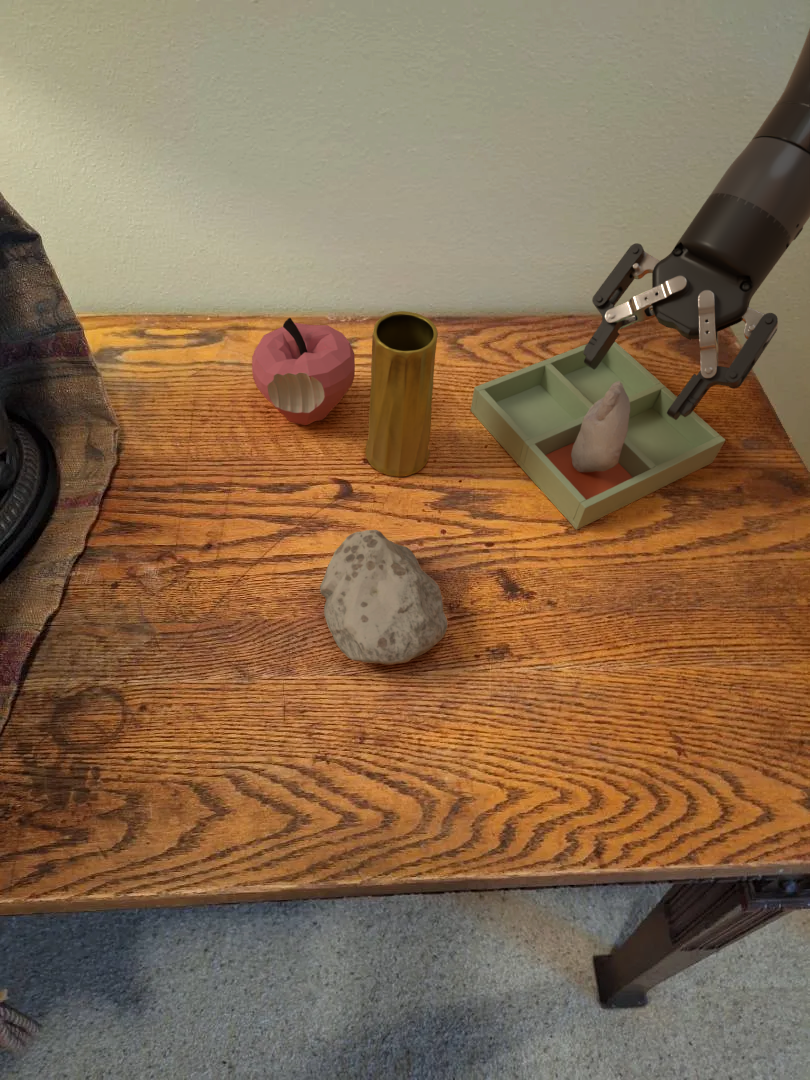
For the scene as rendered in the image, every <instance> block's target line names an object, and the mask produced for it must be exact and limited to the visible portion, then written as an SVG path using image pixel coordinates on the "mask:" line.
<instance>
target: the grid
mask: <svg viewBox="0 0 810 1080" xmlns="http://www.w3.org/2000/svg"><path fill="white" fill-rule="evenodd" d="M587 344H588V342H587V343H585V344H583V345H580V346H577V347H575V348H572V349H570V350H567V351H564V352H562V353H559V354H556V355H554V356H551V357H548V358H546V359H544V360H541V361H539V362H536V363H533V364H531V365H528V366H526V367H522V368H520V369H518V370H515V371H513V372H510V373H507V374H505V375H503V376H500V377H497V378H495V379H492V380H489V381H486V382H484V383H481V384H479V385H476V386H474V388H473V394H472V399H471V406H470V412H471V413H472V415H473V416H474V417H475V418H476V419H477V420H478V421H479V422H480V423H481V425H483V427H484V428H485V429H486V430H487V432H489V433H490V435H491V436H492V437H493V438H494V439H495V440H496V441H497V443H498V444H499V445H500V447H502V448H503V449H504V451H506V453H507V454H508V455H509V456H510V457H511V458H512V460H513V461H514V462H515V463H516V464H517V465H518V467H519V468H521V470H522V471H523V472H524V473H525V474H526V475H527V476H528V478H530V480H531V481H532V482H533V483H534V484H535V485H536V486H537V488H538V489H539V490H540V491H541V492H542V493H543V494H544V495H545V496H546V497H547V499H548V500H549V501H550V502H551V503H552V504H553V505H554V506H555V508H556V509H557V510H558V511H559V512H560V513H561V514H562V516H563V517H564V518H565V519H566V520H567V521H568V523H570V525H571V526H572V527H573V528H574V529H575V530H576V531H577V530H580V529H581V528H584V527H586V526H587V525H589V524H591V523H593V522H595V521H597V520H599V519H601V518H603V517H605V516H608V515H610V514H612V513H613V512H615V511H618V510H620V509H622V508H624V507H625V506H628V505H630V504H633V503H634V502H636V501H638V500H640V499H642V498H644V497H646V496H649V495H650V494H652V493H654V492H656V491H658V490H660V489H662V488H664V487H666V486H668V485H670V484H672V483H674V482H676V481H679V480H680V479H682V478H684V477H686V476H688V475H691V474H692V473H695V472H696V471H699V470H700V469H703V468H704V467H707V466H708V465H710V464H712V463H713V462H714V461H715V459H716V458H717V456H718V454H719V453H720V451H721V450H722V448H723V446H724V444H725V442H726V439H725V438H724V437H723V436H722V435H720V433H719V432H717V431H716V430H715V429H714V428H713V427H712V426H711V425H710V424H708V422H706V421H705V420H704V419H703V418H702V417H701V416H699V415H698V414H697V413H696V412H695V410H693V411H692V413H691V414H689V415H688V416H686V417H684V416H682V415H680V417H679V418H678V419H677V420H675V419H673V418H671V417H670V416H668V414H667V411H668V409H669V408H670V406H671V405H672V404H673V402H674V401H675V399H676V398H677V397H678V395H676V394H674V393H673V391H671V390H670V389H669V388H667V387H666V385H664V384H663V383H662V382H661V380H659V379H658V378H657V377H656V376H654V374H652V373H651V372H650V371H649V370H648V369H647V368H645V366H643V364H641V362H639V361H637V360H636V359H635V357H633V356H632V355H631V354H630V353H629V352H628V351H626V349H624V348H623V347H622V346H621V345H620V344H618V343H617V342H616V341H615V342H614V343H613V345H612V346H611V348H610V349H609V351H608V352H607V354H606V355H605V356H604V358H603V359H602V361H601V362H600V364H599V365H598V367H597V368H596V369H595V370H593V369H592V368H590V367H589V366H587V365H586V364H585V363H584V360H585V358H586V356H585V355H584V354H583V353H584V349H585V347H586V345H587ZM618 381H619V382H621V383H622V384H623V388H624V390H625V392H626V394H627V396H628V398H629V401H630V413H629V422H628V431H627V436H626V438H625V441H624V443H623V446H622V450H621V453H620V457H619V461H618V464H617V465H616V466H614V467H613V468H610V469H608V470H606V471H594V472H579V471H577V470H576V469H575V468H574V467H573V464H572V457H571V453H572V449H573V445H574V443H575V441H576V439H577V436H578V434H579V432H580V429H581V425H582V422H583V419H584V417H585V415H586V414H587V412H588V411H589V409H590V408H591V407H592V406H593V405H594V403H596V402H597V401H598V400H600V399H602V398H604V397H605V394H606V392H607V391H609V388H610V387H611V385H612V384H613V383H615V382H618Z"/></svg>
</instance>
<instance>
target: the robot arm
mask: <svg viewBox="0 0 810 1080" xmlns="http://www.w3.org/2000/svg"><path fill="white" fill-rule="evenodd" d="M809 219H810V28H809V29H808V31H807V34H806V36H805V39H804V43H803V45H802V48H801V50H800V54H799V55H798V58H797V60H796V62H795V65H794V67H793V69H792V72H791V74H790V76H789V79H788V81H787V83H786V86H785V87H784V89H783V92H782V93H781V95H780V97H779V99H778V100H777V102H776V103H775V104H774V106H773V107H772V109H771V111H770V112H769V113H768V115H767V116H766V118H765V119H764V121H763V122H762V123H761V126H760V127H759V129H758V130H757V131H756V133H755V134H754V135H753V137H752V139H751V140H750V141H749V143H748V144H747V145H746V146H745V148H744V149H743V150H742V151H741V153H740V154H739V155H738V156H737V157H736V158H735V159H734V161H733V162H732V163H730V165H729V167H728V168H727V169H726V171H725V172H724V174H723V175H722V177H721V178H720V179H719V180H718V183H717V184H716V185H715V187H714V188H713V189H712V191H711V193H710V195H709V196H708V197H707V198H706V200H705V201H704V203H703V205H702V206H701V207H700V209H699V211H697V213H696V214H695V216H694V218H693V219H692V220H691V222H690V223H689V225H688V226H687V228H686V230H685V231H684V232H683V234H682V235H681V237H680V238H679V240H678V241H677V243H676V244H675V246H674V247H673V249H672V251H671V252H670V253H669V254H668V255H667V256H665V257H664V258H663V259H660V260H659V259H658V258H656V257H654V256H653V255H651V254H650V253H648V252H646V251H645V249H644V247H643V245H642V244H641V243H636V242H635V243H633V244H631V245H630V246H629V248H627V250H626V251H625V253H624V254H623V256H621V258H620V260H619V261H618V262H617V264H616V265H615V266H614V268H613V269H612V271H611V272H610V273H609V275H608V276H607V278H605V279H604V281H603V283H602V284H601V285H600V286H599V288H598V290H597V291H596V292H595V293H594V295H593V297H592V304H593V305H594V307H595V308H596V309H597V311H598V312H599V314H600V315H601V317H602V319H601V322H600V324H599V325H598V327H597V329H596V330H595V332H594V333H593V334H592V336H591V338H590V339H589V341H588V342H587V343H588V344H587V343H586V344H587V345H586V347H585V349H584V353H583V354H584V355H585V356H586V358H585V360H584V363H585V364H586V365H587V366H589V367H590V368H592V369H593V370H595V369H596V368H597V367H598V365H599V364H600V362H601V361H602V359H603V358H604V356H605V355H606V354H607V352H608V351H609V349H610V348H611V346H612V345H613V343H614V342H616V340H617V339H618V338H619V336H620V333H619V331H620V330H622V329H624V328H626V327H629V326H631V325H634V324H636V323H642V322H646V321H648V320H650V319H653V318H656V320H657V321H658V323H659V324H660V325H662V326H663V327H666V328H668V329H674V330H676V331H677V333H679V334H680V335H681V336H682V337H684V338H686V339H687V340H689V341H692V340H698V341H699V342H698V343H699V353H700V354H699V359H700V369H699V372H698V373H697V374H696V373H693V374H692V376H691V377H690V378H689V380H688V381H687V383H686V384H685V386H684V387H683V388H682V390H681V391H680V392H679V394H678V395H677V398H676V399H675V401H674V402H673V404H672V405H671V406H670V408H669V409H668V411H667V414H668V416H670V417H671V418H673V419H675V420H677V419H678V418H679V417H680V415H682V416H684V417H686V416H688V415H689V414H691V413H692V411H695V409H696V407H697V406H698V405H699V404H700V402H701V401H702V399H703V398H704V396H705V395H706V394H707V392H708V391H709V390H710V388H712V387H714V386H722V387H728V388H730V389H733V390H735V389H738V388H740V387H741V386H742V385H743V384H744V382H745V380H746V379H747V377H748V375H749V374H750V373H751V371H752V369H753V368H754V366H755V365H756V364H757V362H758V360H759V359H760V357H761V356H762V354H763V353H764V351H766V348H767V347H768V345H769V344H770V342H771V340H772V339H773V338H774V336H775V335H776V333H777V332H778V327H779V326H778V325H779V321H778V316H777V315H776V314H775V313H773V312H766V313H764V312H761V311H758V310H756V309H754V308H752V307H750V302H751V300H752V298H753V296H754V295H755V294H756V292H757V291H758V290H759V288H760V287H761V285H762V284H763V282H764V281H765V280H766V279H767V277H768V276H769V274H770V273H771V272H772V270H773V269H774V268H775V266H776V264H777V263H778V262H779V261H780V259H781V258H782V256H783V255H784V254H785V252H786V251H787V249H788V248H789V247H790V245H791V244H792V243H793V242H794V241H795V240H796V239H797V238H798V237H799V235H800V234H801V232H802V231H803V230H804V226H805V225H806V223H807V222H808V220H809ZM648 274H651V276H652V277H651V288H650V289H647V290H645V291H643V292H641V293H639V294H636V295H634V296H633V297H631V298H630V299H629V300H628V301H625V302H624V303H621V304H619V305H616V304H617V303H618V302H619V300H620V299H621V298H622V296H623V295H624V294H625V292H626V291H627V290H628V288H629V287H630V286H631V284H632V283H633V282H634V281H635V280H641V279H642V278H644V277H645V276H646V275H648ZM741 322H744V323H745V326H744V329H743V335H744V338H745V339H746V341H745V342H744V344H743V345H742V347H741V349H740V350H739V352H737V354H736V356H735V358H734V359H733V361H732V362H731V364H730V365H729V367H727V366H721V365H719V332H720V331H723V330H725V329H727V328H730V327H733V326H735V325H737V324H739V323H741Z"/></svg>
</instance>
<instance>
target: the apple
mask: <svg viewBox="0 0 810 1080" xmlns="http://www.w3.org/2000/svg"><path fill="white" fill-rule="evenodd" d="M355 356H356V355H355V352H354V348H353V347H352V345H351V342H350V341H349V340H348V339H347V338H346V336H345V335H344V334H343V332H341V331H339V330H338V329H336V328H334V327H332V326H330V325H327V324H307V323H300V322H294V321H293V320H292V318H291V317H289V318H287V319H286V320H285V321H284V322H283V325H282V326H280V327H278V328H275V329H274V330H272V331H269V332H267V333H265V334H264V335H263V336H261V339H260V341H258V344H257V346H256V347H255V349H254V350H253V354H252V356H251V371H252V372H251V373H252V379H253V381H254V384H255V386H256V388H257V390H259V392H260V393H261V395H262V396H263V397H264V398H265V399H266V400H267V401H268V402H269V403H271V405H273V406H274V408H275V409H276V410H277V411H278V412H279V413H280V414H281V415H283V416H284V417H285V419H286V420H287V421H288V422H289V423H292V424H297V425H303V426H308V425H310V424H312V423H314V422H318V421H322V420H323V421H324V419H325V418H326V417H327V416H328V415H329V414H330V412H331V411H332V410H333V409H334V408H336V406H337V405H338V404H339V403H340V401H341V400H342V399H343V398H344V397H345V395H346V393H348V391H349V389H350V388H351V387H352V385H353V382H354V379H355V375H356V373H355V371H356V360H355V359H356V357H355Z"/></svg>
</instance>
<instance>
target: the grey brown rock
mask: <svg viewBox="0 0 810 1080" xmlns="http://www.w3.org/2000/svg"><path fill="white" fill-rule="evenodd" d="M629 413H630V401H629V398H628V396H627V394H626V392H625V390H624V388H623V384H622V383H621V382H619V381H618V382H615V383H613V384H612V385H611V387H610V388H609V391H607V392H606V394H605V397H604V398H602V399H600V400H598V401H597V402H596V403H594V405H593V406H592V407H591V408H590V409H589V411H588V412H587V414H586V415H585V417H584V419H583V422H582V425H581V429H580V432H579V434H578V436H577V439H576V441H575V443H574V445H573V449H572V453H571V457H572V464H573V467H574V468H575V469H576V470H577V471H579V472H594V471H606V470H608V469H610V468H613V467H614V466H616V465H617V464H618V461H619V457H620V453H621V450H622V446H623V443H624V441H625V438H626V436H627V431H628V422H629Z"/></svg>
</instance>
